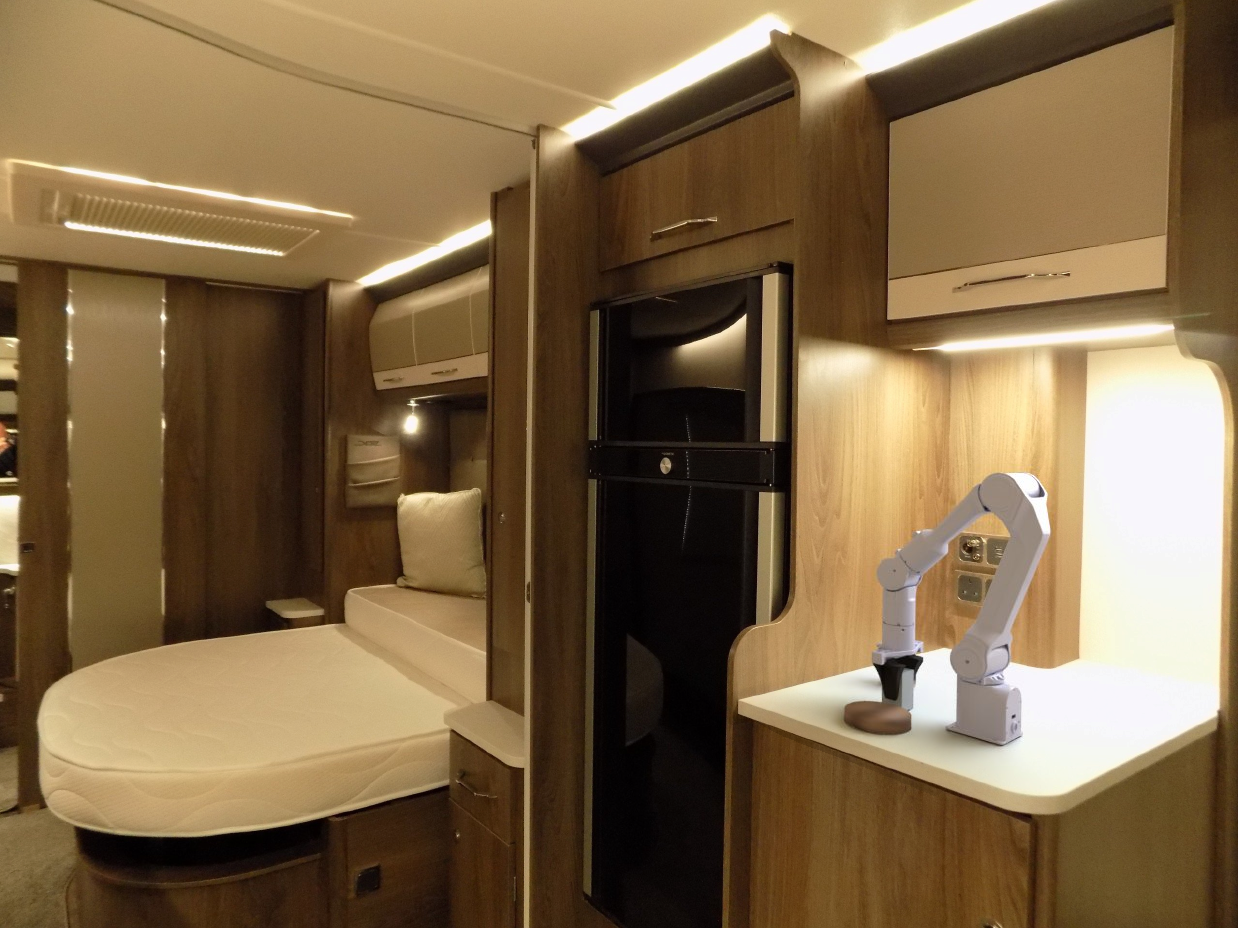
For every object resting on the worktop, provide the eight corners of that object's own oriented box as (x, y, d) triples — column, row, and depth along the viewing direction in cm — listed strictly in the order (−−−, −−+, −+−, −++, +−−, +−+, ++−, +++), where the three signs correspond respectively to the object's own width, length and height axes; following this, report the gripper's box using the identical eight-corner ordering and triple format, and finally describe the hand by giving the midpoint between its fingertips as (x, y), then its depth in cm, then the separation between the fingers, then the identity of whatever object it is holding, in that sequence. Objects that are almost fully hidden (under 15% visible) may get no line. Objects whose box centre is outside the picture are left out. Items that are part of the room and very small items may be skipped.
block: (913, 707, 139) (913, 669, 139) (901, 712, 136) (902, 673, 136) (893, 702, 142) (893, 664, 142) (881, 706, 140) (882, 668, 139)
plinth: (923, 724, 131) (923, 713, 131) (889, 739, 124) (889, 727, 124) (866, 707, 139) (866, 696, 139) (831, 720, 132) (831, 709, 132)
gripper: (899, 614, 147) (898, 684, 147) (857, 624, 138) (856, 698, 138) (934, 620, 141) (933, 692, 142) (892, 631, 132) (891, 709, 132)
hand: (897, 696), depth 139 cm, fingers closed on block, 4 cm apart
